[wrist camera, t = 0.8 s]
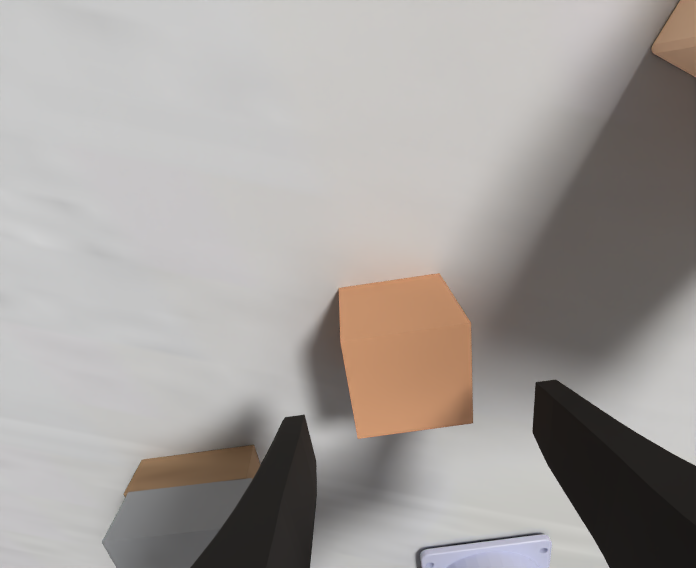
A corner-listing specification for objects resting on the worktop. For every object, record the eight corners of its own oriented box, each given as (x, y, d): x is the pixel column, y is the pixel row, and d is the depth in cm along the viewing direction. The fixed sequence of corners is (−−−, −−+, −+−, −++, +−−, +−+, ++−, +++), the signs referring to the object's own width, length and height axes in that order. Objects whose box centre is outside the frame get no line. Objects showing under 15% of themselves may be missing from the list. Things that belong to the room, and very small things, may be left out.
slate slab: (275, 556, 21) (269, 607, 19) (166, 568, 22) (147, 620, 19) (251, 477, 19) (241, 526, 17) (128, 492, 19) (101, 542, 17)
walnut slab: (278, 514, 24) (273, 555, 21) (180, 527, 24) (164, 569, 22) (255, 439, 21) (246, 477, 19) (145, 454, 21) (123, 494, 19)
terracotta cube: (443, 356, 19) (473, 423, 15) (352, 369, 19) (357, 438, 15) (438, 272, 17) (470, 323, 13) (338, 287, 17) (340, 341, 13)
